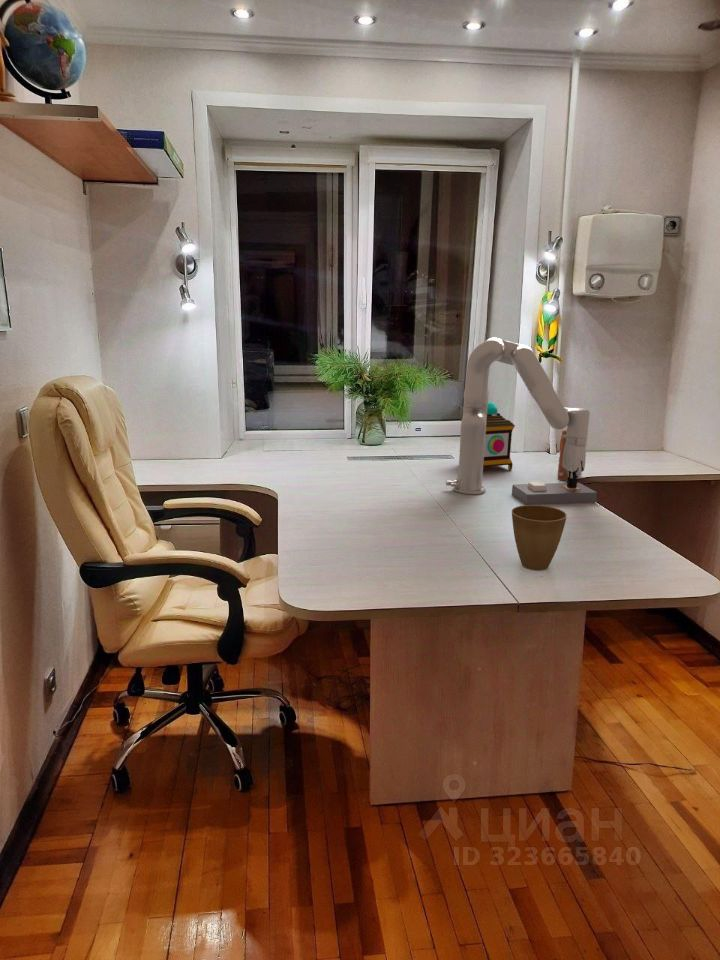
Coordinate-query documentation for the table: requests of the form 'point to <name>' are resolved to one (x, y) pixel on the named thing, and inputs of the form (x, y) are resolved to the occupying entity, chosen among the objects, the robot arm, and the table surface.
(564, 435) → the orange box
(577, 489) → the orange key
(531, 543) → the plant pot
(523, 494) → the keypad housing
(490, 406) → the decorative lantern
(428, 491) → the table surface
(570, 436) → the robot arm
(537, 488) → the ivory key
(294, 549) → the table surface
